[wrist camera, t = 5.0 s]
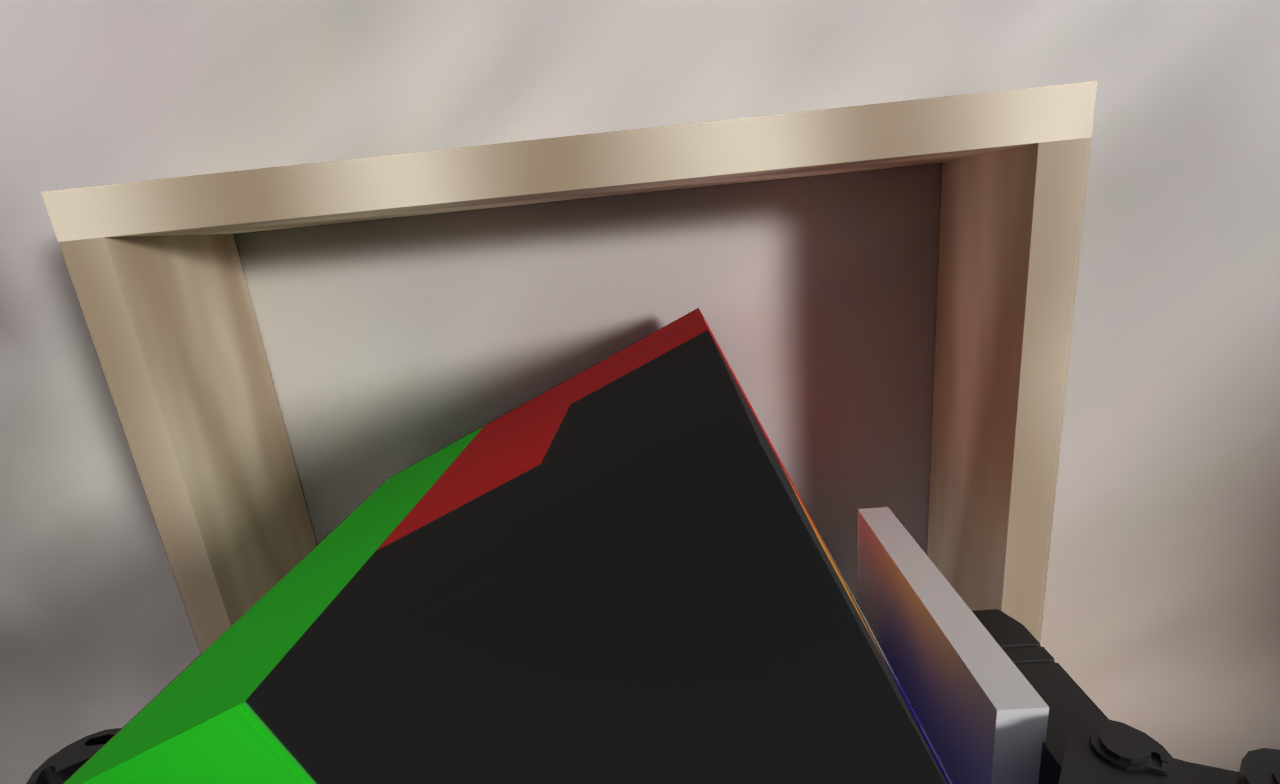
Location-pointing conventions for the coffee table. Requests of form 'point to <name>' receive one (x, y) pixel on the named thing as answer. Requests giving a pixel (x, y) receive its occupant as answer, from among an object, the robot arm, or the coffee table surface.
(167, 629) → the coffee table surface
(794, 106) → the coffee table surface
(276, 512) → the bin
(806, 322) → the coffee table surface
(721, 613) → the puzzle toy
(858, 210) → the coffee table surface
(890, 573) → the robot arm
